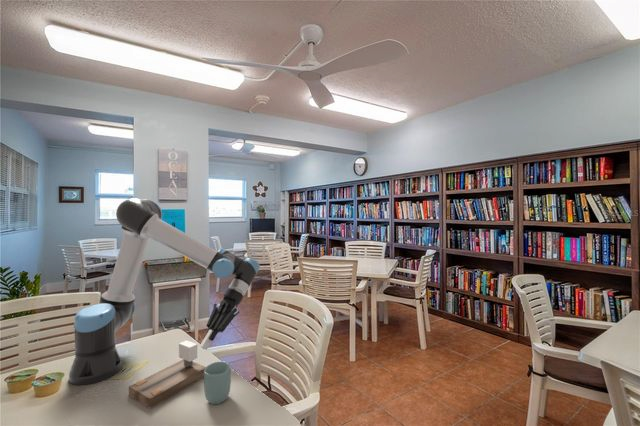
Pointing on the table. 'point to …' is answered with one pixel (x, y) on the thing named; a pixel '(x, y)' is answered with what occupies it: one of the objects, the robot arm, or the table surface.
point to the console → (165, 383)
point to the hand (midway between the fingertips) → (203, 347)
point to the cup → (217, 382)
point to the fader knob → (188, 352)
